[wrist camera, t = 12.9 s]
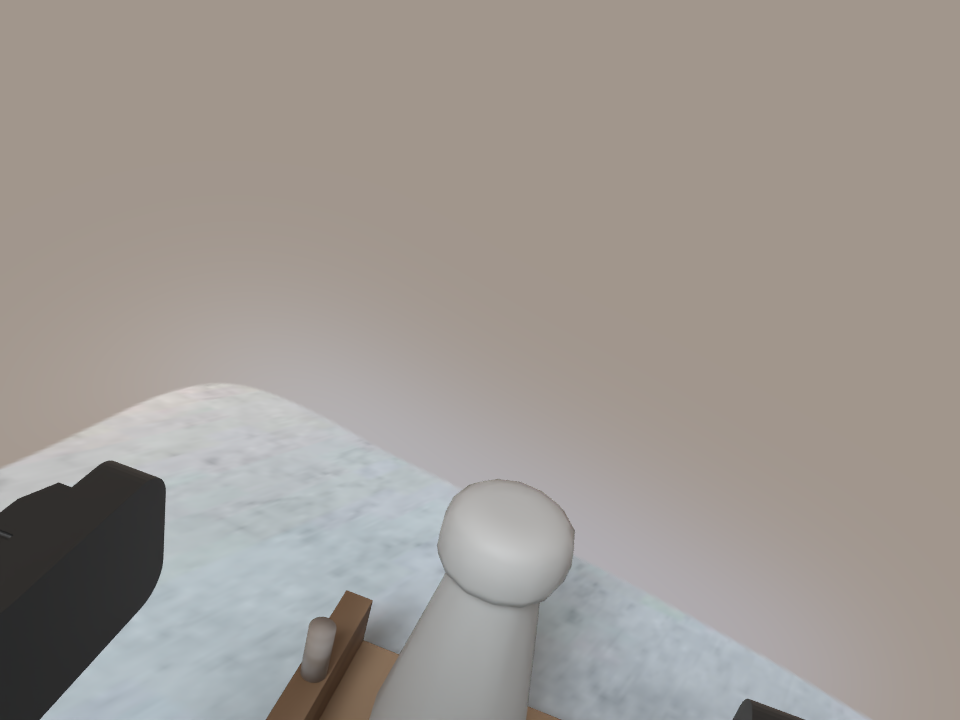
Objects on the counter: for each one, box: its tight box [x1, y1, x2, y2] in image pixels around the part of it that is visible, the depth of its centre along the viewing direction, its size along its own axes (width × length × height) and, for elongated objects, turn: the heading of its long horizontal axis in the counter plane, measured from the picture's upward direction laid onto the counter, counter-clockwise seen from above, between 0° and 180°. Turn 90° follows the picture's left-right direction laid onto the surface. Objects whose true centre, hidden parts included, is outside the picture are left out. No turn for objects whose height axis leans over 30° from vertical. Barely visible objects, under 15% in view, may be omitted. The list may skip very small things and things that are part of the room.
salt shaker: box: [369, 479, 575, 720], centre depth 31 cm, size 6×6×13 cm
